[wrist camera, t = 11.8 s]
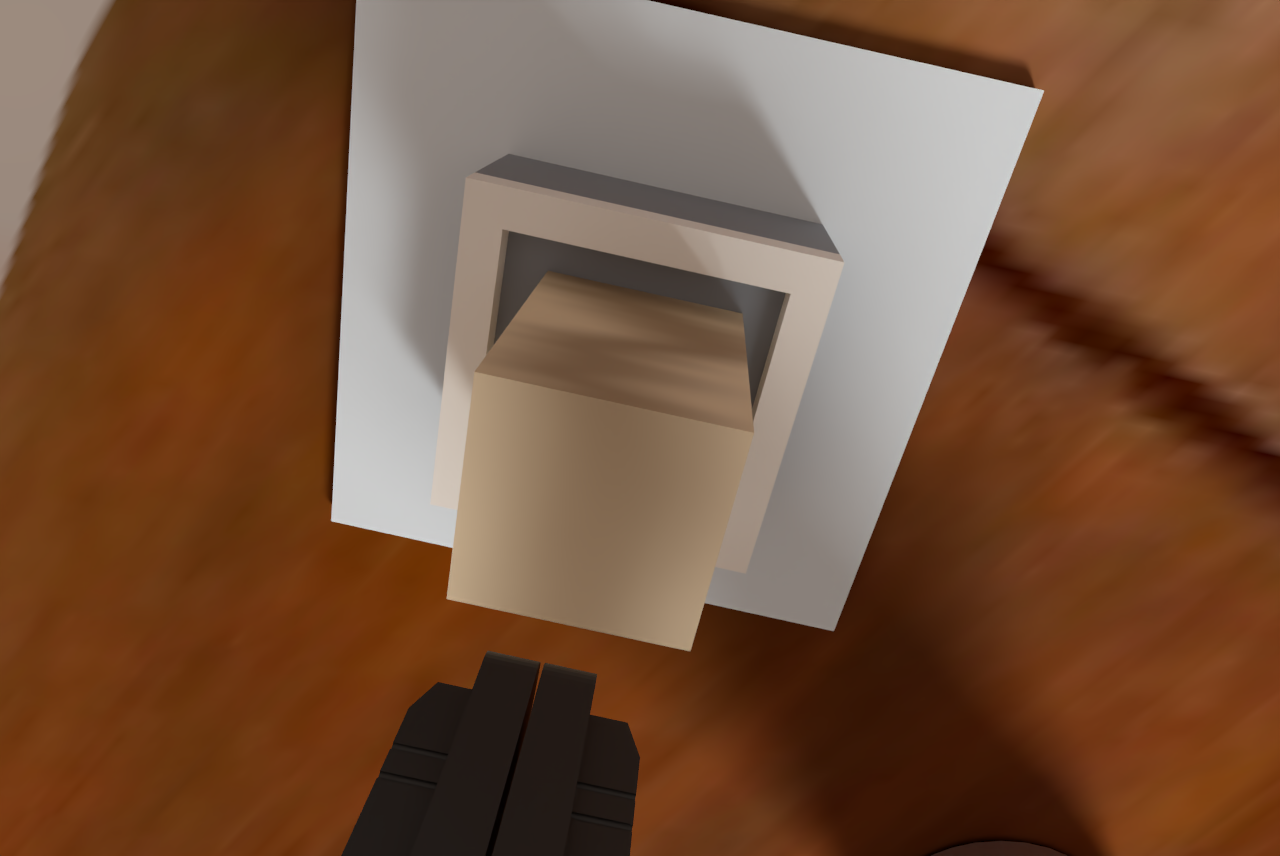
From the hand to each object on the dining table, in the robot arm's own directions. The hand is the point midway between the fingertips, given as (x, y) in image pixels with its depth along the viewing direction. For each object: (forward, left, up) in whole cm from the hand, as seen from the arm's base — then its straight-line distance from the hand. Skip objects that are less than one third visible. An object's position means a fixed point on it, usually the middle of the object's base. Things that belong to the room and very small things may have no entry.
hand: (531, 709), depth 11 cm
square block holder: (0, 0, -16) cm, 16 cm away
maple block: (0, 0, -12) cm, 12 cm away
